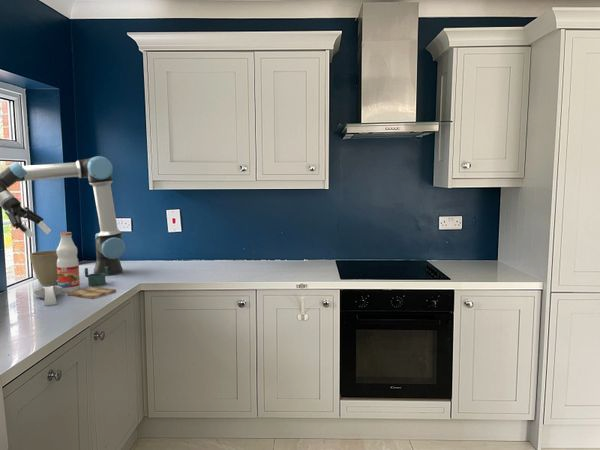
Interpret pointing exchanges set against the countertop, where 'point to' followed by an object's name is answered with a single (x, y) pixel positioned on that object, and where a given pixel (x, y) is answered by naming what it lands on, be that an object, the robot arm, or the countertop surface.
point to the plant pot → (45, 266)
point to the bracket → (96, 278)
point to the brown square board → (91, 292)
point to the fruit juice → (67, 264)
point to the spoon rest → (48, 294)
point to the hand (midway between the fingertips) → (40, 234)
